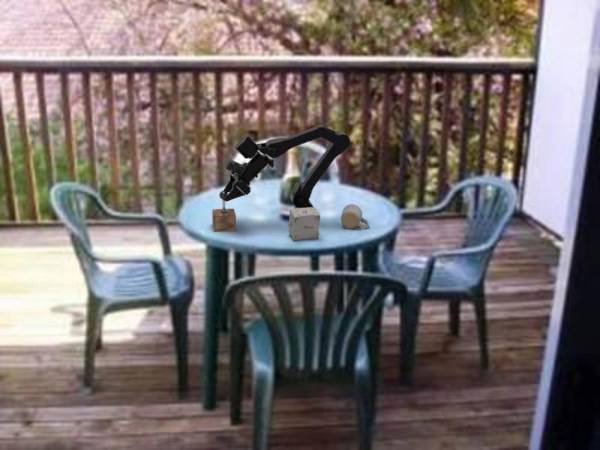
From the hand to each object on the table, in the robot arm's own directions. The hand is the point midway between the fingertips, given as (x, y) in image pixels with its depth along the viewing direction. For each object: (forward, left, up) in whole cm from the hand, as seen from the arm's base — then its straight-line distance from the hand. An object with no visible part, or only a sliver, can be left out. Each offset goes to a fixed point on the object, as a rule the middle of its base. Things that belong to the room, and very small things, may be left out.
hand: (224, 197), depth 275 cm
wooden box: (0, 0, -12) cm, 12 cm away
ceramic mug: (-46, -17, -12) cm, 50 cm away
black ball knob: (0, 0, -7) cm, 7 cm away
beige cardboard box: (-31, +1, -12) cm, 33 cm away
